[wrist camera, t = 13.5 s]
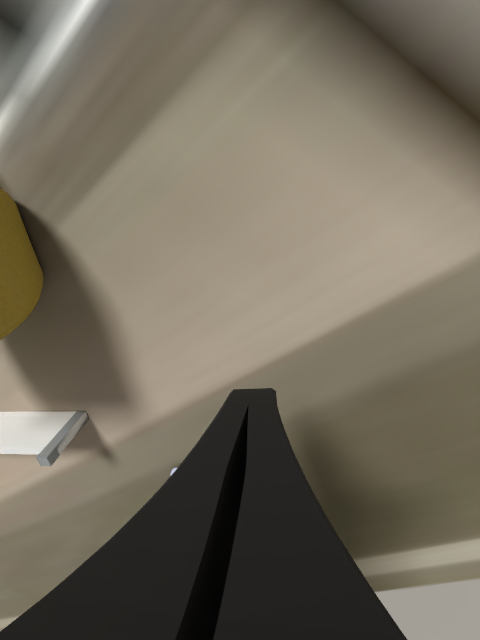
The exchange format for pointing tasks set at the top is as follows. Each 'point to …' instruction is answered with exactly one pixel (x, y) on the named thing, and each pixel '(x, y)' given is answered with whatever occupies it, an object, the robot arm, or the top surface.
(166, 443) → the top surface
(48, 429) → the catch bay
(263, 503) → the robot arm
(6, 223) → the flower pot
